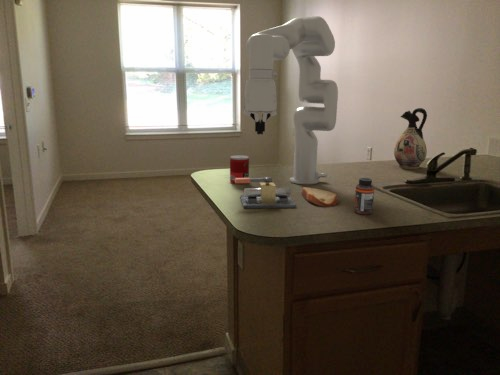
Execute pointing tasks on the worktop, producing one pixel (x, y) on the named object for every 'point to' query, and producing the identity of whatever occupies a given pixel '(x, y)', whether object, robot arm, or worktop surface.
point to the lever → (253, 180)
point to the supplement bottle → (364, 196)
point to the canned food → (239, 167)
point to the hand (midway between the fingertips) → (259, 133)
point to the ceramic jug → (411, 142)
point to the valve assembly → (267, 197)
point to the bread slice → (320, 197)
